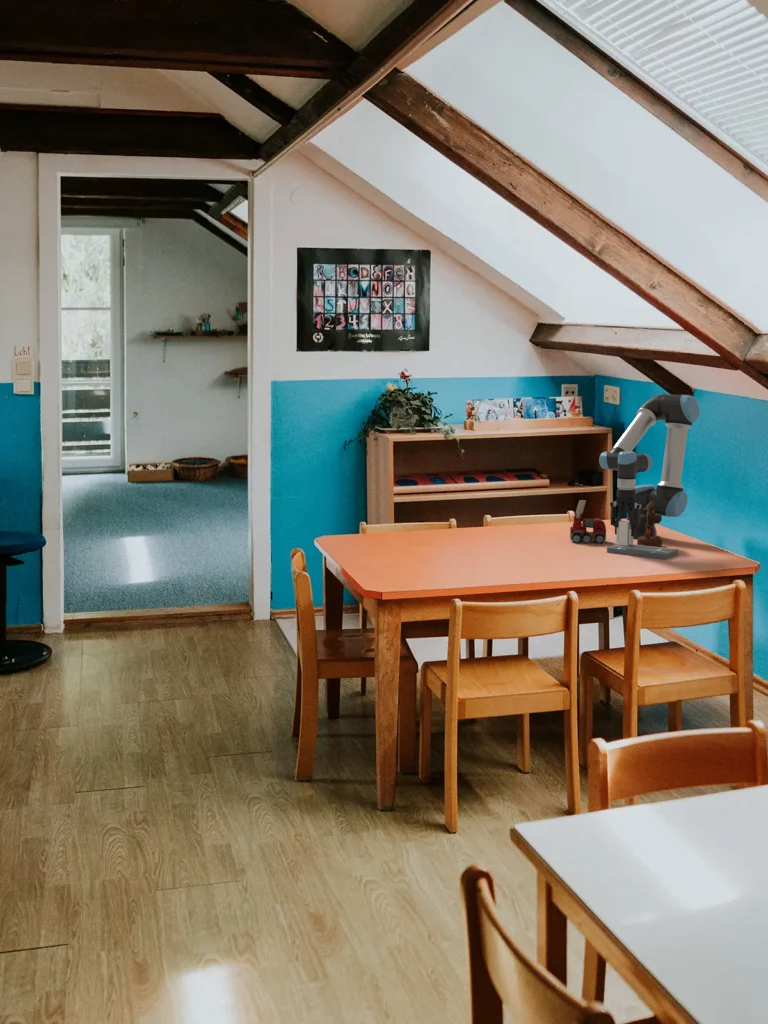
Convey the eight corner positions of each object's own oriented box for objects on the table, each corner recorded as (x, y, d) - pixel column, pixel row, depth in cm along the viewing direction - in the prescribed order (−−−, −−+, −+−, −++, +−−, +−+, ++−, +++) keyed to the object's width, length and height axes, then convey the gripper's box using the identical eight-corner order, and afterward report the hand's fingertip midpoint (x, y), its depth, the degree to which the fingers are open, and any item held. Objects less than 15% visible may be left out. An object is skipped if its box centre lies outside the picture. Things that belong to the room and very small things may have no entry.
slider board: (619, 547, 480) (620, 541, 479) (677, 554, 464) (678, 548, 464) (606, 552, 469) (607, 546, 469) (665, 559, 454) (665, 553, 454)
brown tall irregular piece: (662, 549, 474) (659, 503, 471) (636, 550, 477) (633, 504, 474) (664, 543, 488) (661, 498, 485) (638, 543, 492) (636, 499, 489)
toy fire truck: (606, 544, 488) (607, 504, 485) (570, 543, 490) (570, 503, 487) (604, 539, 499) (605, 500, 496) (569, 538, 501) (570, 499, 498)
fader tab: (621, 544, 475) (622, 519, 473) (632, 545, 472) (633, 520, 470) (616, 546, 471) (617, 521, 469) (627, 547, 468) (628, 522, 466)
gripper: (602, 487, 469) (601, 542, 473) (642, 491, 459) (640, 546, 463) (610, 485, 475) (608, 539, 479) (650, 489, 465) (648, 543, 469)
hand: (624, 542), depth 471 cm, fingers open, 5 cm apart
